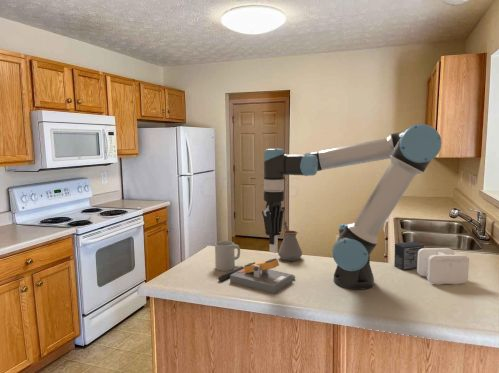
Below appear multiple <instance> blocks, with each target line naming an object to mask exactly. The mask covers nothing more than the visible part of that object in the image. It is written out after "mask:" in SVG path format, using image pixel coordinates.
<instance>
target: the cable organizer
mask: <svg viewBox="0 0 499 373" xmlns="http://www.w3.org/2000/svg"><path fill="white" fill-rule="evenodd" d="M469 269H470V258H469V257H468V256H467V255H465V254H460V253H459V254H455V250H453V249H452V248H449V247H437V248H436V247H434V248H433V247H432V248H431V247H428V248H427V247H424V248H422V249H420V250H419V251H418V260H417V269H416V272H417V274H419V276H421V277H424V278H427V280H428V282H430V283H431V284H433V285H440V286H441V285H446V284H447V285H448V284H449V285H450V284H451V285H460V284H465V283H466V282H468V280H469V271H470V270H469Z"/></svg>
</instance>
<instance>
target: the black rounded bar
mask: <svg viewBox="0 0 499 373" xmlns="http://www.w3.org/2000/svg"><path fill="white" fill-rule="evenodd" d="M242 269H244V266H242V265H241V266H239V267H237V268H236V267H235V268H234V269H232V270H229V271H227V272H226V273H223V274H222V275H219V276H218V278H217V280H218V281H219V282H222V281H225V280H227V279H230V275H231V274H233V273H235V272H238V271H240V270H242Z"/></svg>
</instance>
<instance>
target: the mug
mask: <svg viewBox="0 0 499 373" xmlns="http://www.w3.org/2000/svg"><path fill="white" fill-rule="evenodd" d="M235 249H236V251H237V253H236V255H235ZM214 250H215V252H214V253H215V254H214V255H215V258H214V260H215V263H214V264H215V269H216V270H217V271H221V272H222V271H223V272H226V271H227V272H230V271H232V270H234V269H236V266H235V265H236V263H235V261H236V260H238V259H239V258H240V256H241V248H240V246H239V244H235V242H234V241H230V240H222V241H221V240H219V241H217V242H215V244H214Z"/></svg>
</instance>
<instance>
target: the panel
mask: <svg viewBox="0 0 499 373" xmlns="http://www.w3.org/2000/svg"><path fill="white" fill-rule="evenodd" d="M264 261H265V260H262V261H261V262H264ZM292 275H293V274H292V273H288V272H282V271H279V270H274V269H266V270H261V271H260V266H259V265H254V272H249V273H245V270H244V269H242V270H240V271H238V272H235V273H233V274H231V275H230V277H229V280H230V281H229V282H230V283H231V284H236V285H239V286H242V287H245V288H246V287H247V288H249V289H254V290H258V291H261V292H265V293H268V294H272V295H274V294H276V293H277V292H279V291H280V290H282V289H284V288H285V287H288V285H290V284H292V283H293V279H292Z"/></svg>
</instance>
